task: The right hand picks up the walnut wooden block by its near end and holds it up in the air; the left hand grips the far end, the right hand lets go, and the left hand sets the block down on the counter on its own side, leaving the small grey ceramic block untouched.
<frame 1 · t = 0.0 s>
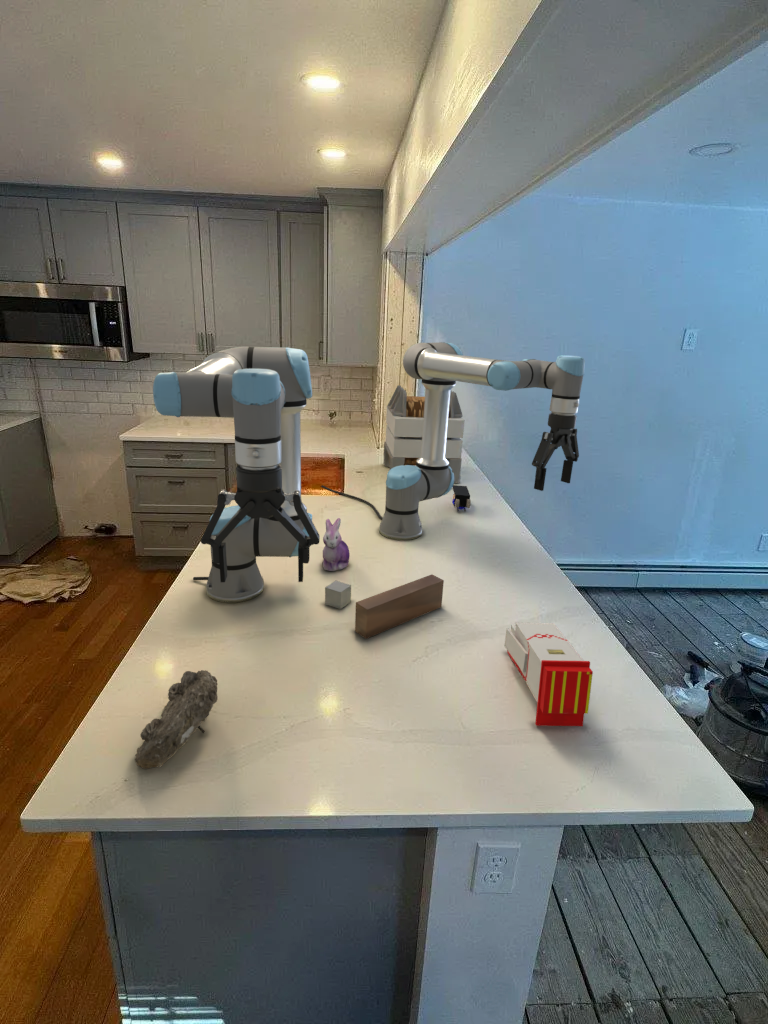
left hand: (262, 578, 102), 28 cm above the counter, fingers open, 13 cm apart
right hand: (552, 485, 166), 28 cm above the counter, fingers open, 13 cm apart
toy: (538, 683, 122), on the counter
grey ceramic block: (337, 602, 152), on the counter
figurine: (335, 565, 173), on the counter
fossil: (184, 730, 104), on the counter
walnut block: (400, 618, 145), on the counter
white slatted box: (419, 473, 275), on the counter
figurine character: (460, 507, 229), on the counter
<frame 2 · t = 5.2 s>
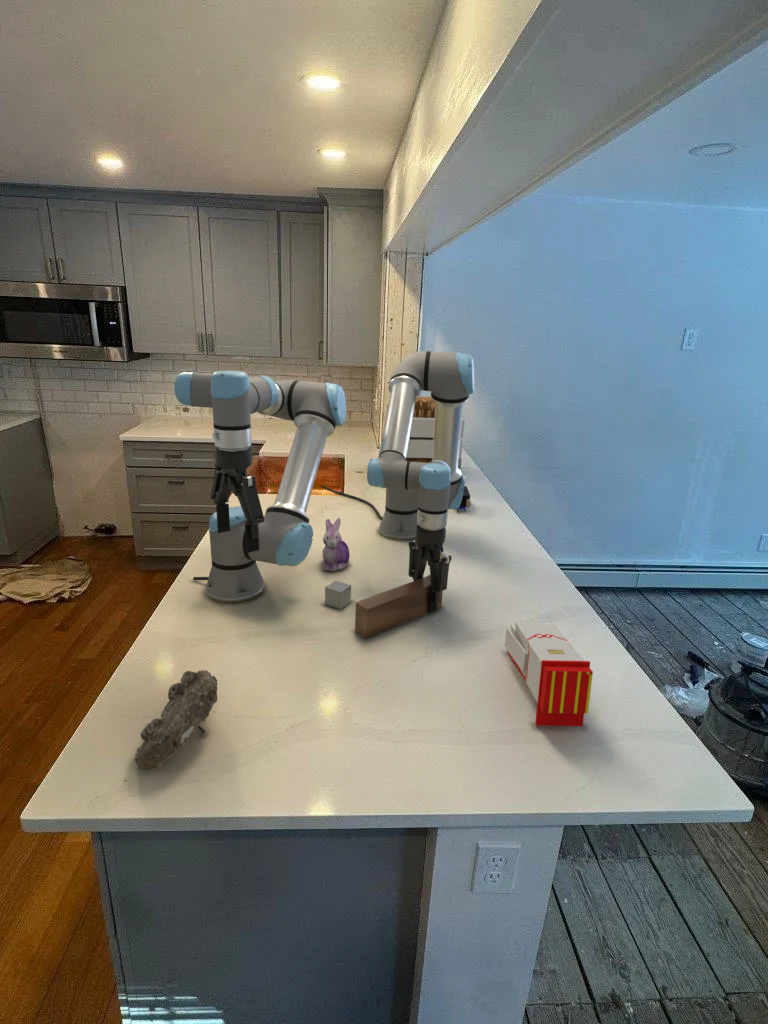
left hand: (237, 541, 126), 25 cm above the counter, fingers open, 13 cm apart
right hand: (425, 607, 151), 0 cm above the counter, fingers closed on walnut block, 4 cm apart
walnut block: (400, 618, 145), on the counter, touching right hand
everything else where it was.
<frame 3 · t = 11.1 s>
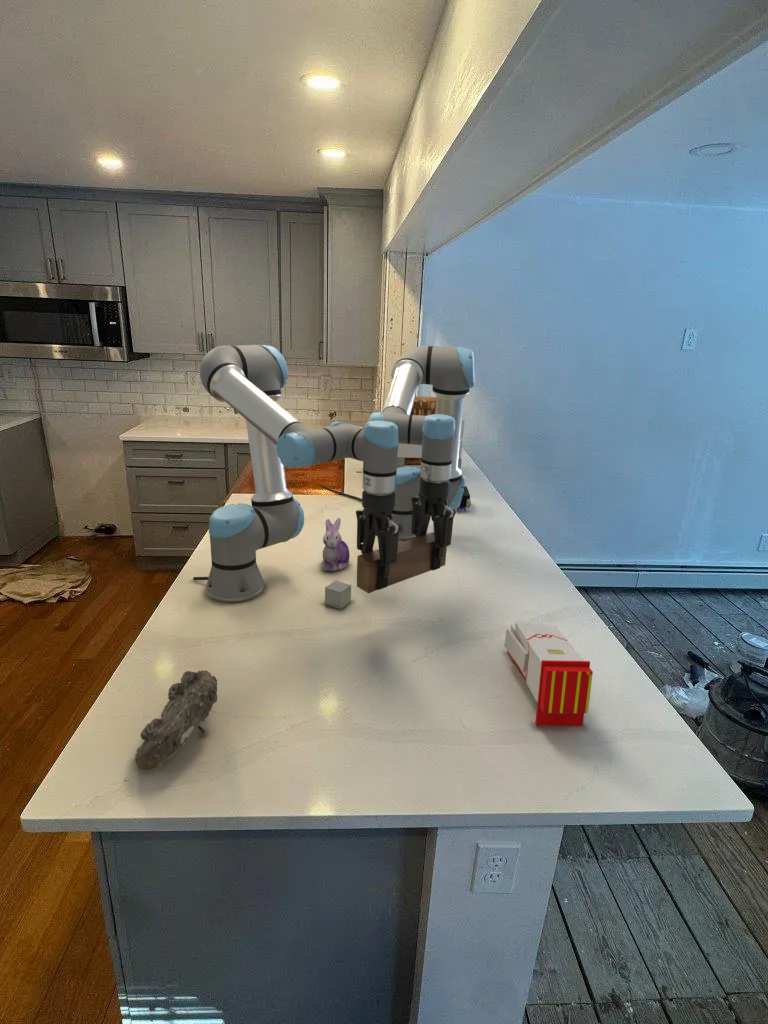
left hand: (375, 583, 136), 13 cm above the counter, fingers closed on walnut block, 4 cm apart
right hand: (428, 565, 147), 13 cm above the counter, fingers closed on walnut block, 4 cm apart
walnut block: (402, 575, 141), point 12 cm above the counter, touching right hand, left hand
everything else where it was.
when the left hand's fingers open (9 cm above the counter, at t = 16.7 s): walnut block drops 8 cm, on the counter.
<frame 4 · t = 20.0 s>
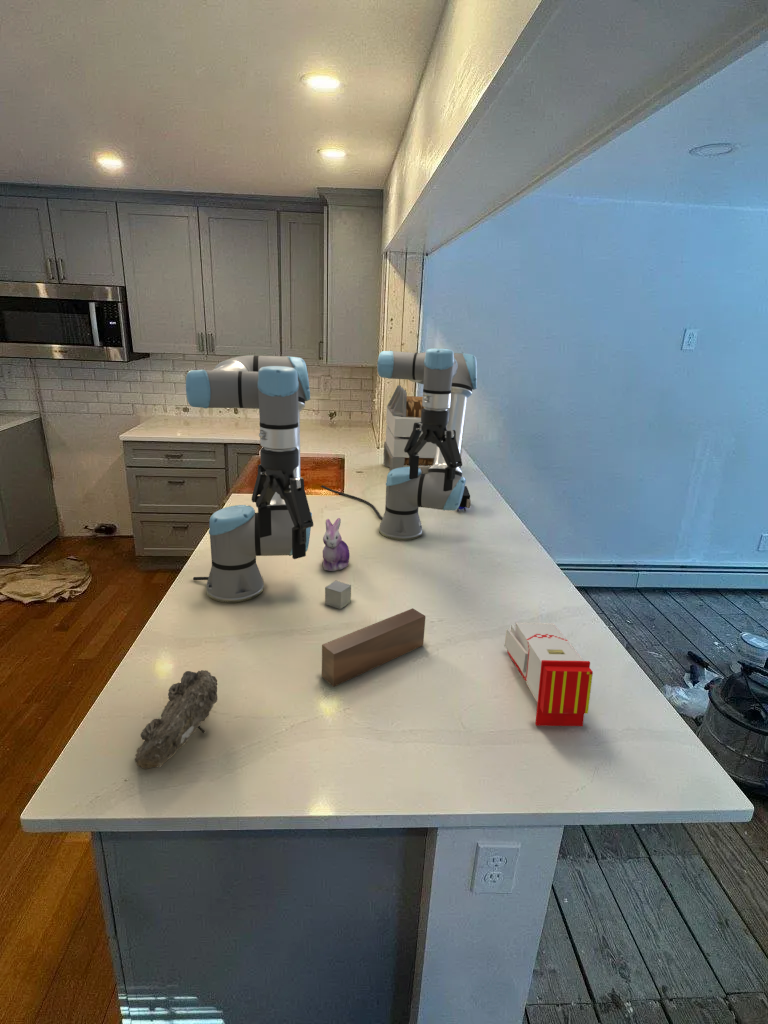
left hand: (281, 546, 119), 27 cm above the counter, fingers open, 13 cm apart
right hand: (430, 484, 159), 29 cm above the counter, fingers open, 13 cm apart
walnut block: (375, 660, 128), on the counter
everything else where it was.
at the end: walnut block inside the target area (0.2 cm from its centre), on the counter; both hands held the walnut block at the same time; the left hand is holding nothing; the right hand is holding nothing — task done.
